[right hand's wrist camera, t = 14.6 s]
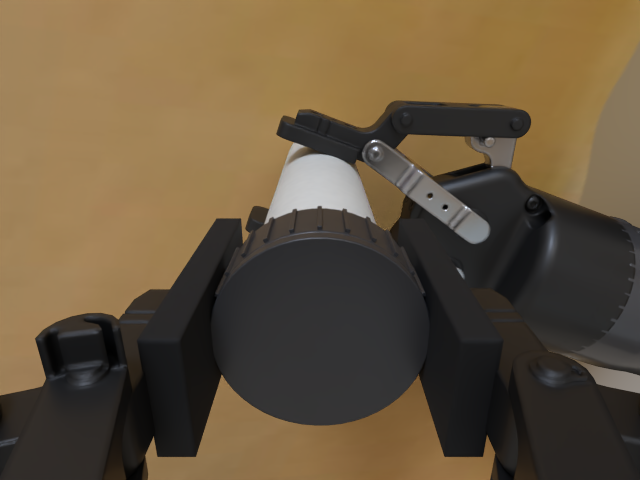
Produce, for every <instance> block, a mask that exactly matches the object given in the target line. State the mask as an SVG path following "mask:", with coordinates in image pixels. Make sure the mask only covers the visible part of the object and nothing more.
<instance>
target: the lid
mask: <svg viewBox="0 0 640 480" xmlns="http://www.w3.org/2000/svg"><path fill="white" fill-rule="evenodd" d="M425 296H426V293H425V291H424V289H423V287H422V284H421V282H420V280H419V278H418V276H417V273H416V271H415V269H414V267H413V266H412V264H411V262H410V260H409V257H408V255H407V253H406V251H405V249H404V247H403V246H402V247H399V246H398V244H397V243H396V242H395V241H394V239H393V238H392V236H391V234H390V231H388V230H386V231H384V230H383V229H381V228H380V227H379V226H377V225H376V224H374V223H373V222H371V219H370V218H369V217H367V216H366V218H363V217H361V216H358V215H356V214H353V213H350V212H347V209H344V208H343V210H336V209H327V208H322V206H318V208H312V209H305V210H299V211H297V209H293V210H292V212H291V213H287V214H285V215H282V216H280V217H277V218H275V219H274V217H271V218H270V219H269V222H268V223H266V224H264V225H263V226H262V227H260V228H259V229H258V230H256V231H254V230H252V231H251V232H250V234H249V236H248V239H247V240H246V241H245V242H244V244H243V245H242V246H241V248H239V247H237V248H236V249H235V251H234V254H233V256H232V258H231V260H230V263H229V265H228V266H227V268H226V270H225V272H224V274H223V277H222V279H221V281H220V283H219V286H218V288H217V290H216V292H215V295H214V297H216V301H215V304H214V306H213V309H212V314H211V319H210V324H211V335H212V344H213V353H214V359H215V361H216V363H217V366H218V368H219V370H220V372H221V373H222V375H223V377H224V378H225V380H226V381H227V382H228V384H229V385H230V386H231V387H232V389H233V390H234V391H235V392H236V393H237V394H238V395H240V396H241V397H242V398H243V399H244V400H245V401H247V402H248V403H249V404H251V405H252V406H254V407H255V408H257V409H259V410H261V411H262V412H264V413H266V414H269V415H271V416H273V417H276V418H279V419H282V420H285V421H288V422H293V423H298V424H305V425H335V424H343V423H347V422H352V421H356V420H359V419H362V418H365V417H367V416H370V415H372V414H374V413H376V412H378V411H380V410H382V409H383V408H385V407H387V406H388V405H390V404H391V403H392V402H394V401H395V400H396V399H398V398H399V397H400V396H401V395H402V394H403V393H404V392H405V391H406V390H407V389H408V388H409V387H410V385H411V384H412V383H413V382H414V380H415V379H416V377H417V376H418V374H419V372H420V371H421V369H422V367H423V364H424V362H425V360H426V357H427V349H428V339H429V329H430V317H429V312H428V308H427V305H426V302H425V300H424V297H425Z"/></svg>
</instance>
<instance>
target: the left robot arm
mask: <svg viewBox="0 0 640 480" xmlns="http://www.w3.org/2000/svg"><path fill="white" fill-rule="evenodd" d="M530 125H531V118H530V116H529V114H528V113H527V112H525V111H523V110H520V109H516V108H511V107H507V106H503V105H495V104H470V103H445V102H420V101H394V102H391V103H390V104H389V105H388V106H387V108H386V110H385V112H384V113H383V115H382V116H381V117H380V118H379V119H378V120H377V121H376V123H375V124H373V125H372V126H370V127H367V128H359V127H356V126H353V125H350V124H348V123H345V122H342V121H340V120H337V119H335V118H332V117H329V116H327V115H324V114H321V113H319V112H316V111H314V110H311V109H308V110H299V111H298V114H297V117H296V119H294V118H292V117H288V116H283V117H282V118H281V121H280V124H279V127H278V130H277V133H276V134H277V135H278V136H280V137H282V138H284V139H286V140H289V141H292V142H295V143H297V144H300V145H303V146H305V147H308V148H311V149H314V150H316V151H319V152H322V153H325V154H327V155H330V156H333V157H336V158H339V159H341V160H344V161H346V162H349V163H352V164H355V162H356V159H357V160H360V161H362V162H365V163H366V164H367V165H368V166H370V167H371V168H372V169H374V170H375V171H376V172H378V173H379V174H381V175H382V176H383V177H385V178H386V179H387V180H389V181H390V182H391V183H393V184H394V185H395V186H397V187H398V188H399V189H400V190H401V191H402V192H403V193H404V194H405V195H406V196H405V199H404V201H403V206H402V212H401V217H400V218H399V219H424V220H425V221H426V223H427V224H428V226H429V227H430V229H431V230H432V232H433V233H434V235H435V236H436V238H437V239H438V241H439V243H440V244H441V246H442V247H443V249H444V250H445V252H446V253H447V255H448V256H449V258H450V259H451V261H452V262H453V264H454V265H455V267H456V268H457V270H458V271H459V273H460V274H461V276H462V277H463V279H464V281H465V282H466V284H467V285H468V287H469V288H491V289H493V290H494V291H496V292H497V293H499V294H501V295H502V296H504V297H505V298H507V299H508V301H509V302H510V303H511V304H512V306H513V307H514V308H515V310H516V312H518V313H519V315H520V316H521V317H522V318H523V321H524V322H526V324H527V325H528V326H529V327H530V329H531V330H532V331H533V332H534V334H535V335H536V336H537V338H538V339H539V340H540V341H541V343H542V344H543V345H544V346H545V348H546V349H547V350H548V351H551V352H555V353H558V354H561V355H564V356H567V357H570V358H573V359H576V360H579V361H582V362H585V363H588V364H591V365H595V366H598V367H603V368H608V369H613V370H619V371H626V372H630V373H633V374H637V375H640V228H637V227H635V226H632V225H631V224H630V223H628V222H627V221H625V220H623V219H620V218H616V217H611V216H610V217H609V216H606V215H603V214H601V213H598V212H596V211H593V210H590V209H588V208H585V207H582V206H580V205H577V204H574V203H572V202H569V201H567V200H564V199H561V198H559V197H556V196H553V195H551V194H548V193H546V192H543V191H540V190H538V189H535V188H532V187H530V186H528V185H526V184H525V183H524V182H523V181H522V180H521V178H520V177H519V175H518V174H517V173H516V172H515V171H514V170H512V169H511V165H512V160H513V155H514V150H515V145H516V140H517V138H519V137H522V136H523V135H525V134H526V133H527V132H528V130H529V128H530ZM408 134H414V135H440V136H465V142H466V144H467V145H468V146H469V147H470V148H472V149H474V150H475V151H477V152H480V153H483V155H484V157H485V163H482V164H478V165H474V166H471V167H467V168H463V169H460V170H456V171H452V172H448V173H445V174H441V175H437V176H432V175H431V174H430V173H429V172H427V171H426V170H425V169H423V168H422V167H421V166H419V165H418V164H417V163H415V162H414V161H413V160H412V159H410V158H409V157H408V156H406V155H404V154H403V153H402V152H400V151H399V150H398V149H396V147H397V146H398V145H399V144H400V143H401V141H402V140H403V139H404V138H405V137H406V136H407V135H408ZM268 211H269V209H267V208H264V207H260V206H254V207H253V209H252V211H251V213H250V215H249V218H248V222H247V225H246V228H245V229H246V230H247V231H248V232H249V233H250V232H251V231H252V230H254V231H256V230H258V229H259V228H260V227H262V226H263V225H264V223H265V220H266V217H267V214H268ZM399 219H398V221H397V222H396V223H395V224H394V225H393V227H392V228H391V230H390V234H391V236H392V238H393V239H394V241H395V242H396V243H397V244H398V232H399Z"/></svg>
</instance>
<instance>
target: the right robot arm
mask: <svg viewBox="0 0 640 480" xmlns="http://www.w3.org/2000/svg"><path fill="white" fill-rule="evenodd" d="M242 245H243V240H242V226H241V219H216V220H215V222H214V223H213V225H212V227H211V228H210V230H209V231H208V233H207V234H206V236H205V237H204V239H203V240H202V242H201V243H200V245H199V246H198V248H197V249H196V251H195V252H194V254H193V255H192V257H191V258H190V260H189V262H188V263H187V265H186V266H185V268H184V269H183V271H182V272H181V274H180V275H179V277H178V278H177V280H176V281H175V283H174V284H173V286H172V287H171V289H170V290H149V291H147V292H146V293H144V294H142V295H141V296H139V297H138V298H136V299H134V301H133V302H132V303H131V304H130V306H129V307H128V308H127V310H126V311H125V314H123V315H122V316H121V317H120V319H119V320H118V319H116V318H115V317H114V316H113V315H108V314H104V313H87V314H82V315H77V316H72V317H69V318H66V319H63V320H61V321H58V322H56V323H54V324H52V325H51V326H49V327H47V328H46V329H44V330H43V331H42V332H41V333H40V334H39V335H38V336H37V337H36V338H35V339H36V343H37V347H38V350H39V354H40V358H41V361H42V365H43V368H44V372H45V376H46V381H45V383H44V385H43V386H42V387H39V388H35V389H30V390H25V391H21V392H16V393H11V394H6V395H1V396H0V480H148V469H147V463H146V458H145V454H146V452H147V450H148V448H149V445H150V443H151V441H152V439H153V436H154V440H155V445H156V451H157V456H158V457H196V455H197V451H198V448H199V445H200V442H201V439H202V435H203V432H204V429H205V426H206V423H207V420H208V416H209V413H210V410H211V407H212V404H213V400H214V397H215V394H216V391H217V388H218V384H219V381H220V378H221V375H222V373H221V372H220V370H219V368H218V366H217V363H216V361H215V359H214V353H213V344H212V335H211V324H210V319H211V314H212V309H213V306H214V304H215V301H216V297H214V295H215V292H216V290H217V288H218V286H219V283H220V281H221V279H222V277H223V274H224V272H225V270H226V268H227V266H228V265H229V263H230V260H231V258H232V256H233V254H234V251H235V249H236V248H237V247H239V248H241V246H242ZM398 246H399V247H402V246H403V247H404V249H405V251H406V253H407V255H408V257H409V260H410V262H411V264H412V266H413V267H414V269H415V271H416V273H417V276H418V278H419V280H420V282H421V284H422V287H423V289H424V291H425V293H426V296H425V297H424V300H425V302H426V305H427V308H428V312H429V317H430V329H429V339H428V349H427V357H426V360H425V362H424V364H423V367H422V369H421V371H420V372H419V377H420V380H421V383H422V386H423V389H424V393H425V396H426V399H427V402H428V405H429V409H430V412H431V415H432V418H433V421H434V424H435V428H436V431H437V434H438V437H439V440H440V444H441V447H442V450H443V453H444V456H445V457H483V453H484V448H485V442H486V437H487V435H488V437H489V440H490V442H491V444H492V446H493V449H494V451H495V458H494V463H493V468H492V473H491V479H490V480H640V393H635V392H630V391H625V390H620V389H615V388H610V387H606V386H602V385H598V384H596V382H595V380H594V378H593V377H592V375H591V374H590V373H589V372H588V370H587V369H586V368H584V367H583V366H582V365H580V364H579V363H577V362H576V361H575V360H572V359H570V358H568V357H565V356H563V355H561V354H557V353H553V352H549V351H548V350H547V349H546V348H545V346H544V345H543V344H542V343H541V341H540V340H539V339H538V338H537V336H536V335H535V334H534V332H533V331H532V330H531V329H530V327H529V326H528V325H527V324H526V322H524V321H523V318H522V317H521V316H520V315H519V313H518V312H516V310H515V308H514V307H513V306H512V304H511V303H510V302H509V301H508V299H507V298H505V297H504V296H502V295H501V294H499V293H497V292H496V291H494V290H493V289H491V288H469V287H468V285H467V284H466V282H465V281H464V279H463V277H462V276H461V274H460V273H459V271H458V270H457V268H456V267H455V265H454V264H453V262H452V261H451V259H450V258H449V256H448V255H447V253H446V252H445V250H444V249H443V247H442V246H441V244H440V243H439V241H438V239H437V238H436V236H435V235H434V233H433V232H432V230H431V229H430V227H429V226H428V224H427V223H426V221H425V220H424V219H399V232H398Z"/></svg>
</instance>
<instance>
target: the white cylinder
mask: <svg viewBox="0 0 640 480" xmlns="http://www.w3.org/2000/svg"><path fill="white" fill-rule="evenodd" d="M318 206H322V208H327V209H336V210H343V208H344V209H347V212H350V213H353V214H356V215H358V216H361V217H363V218H366V216H367V217H369V218H370V219H371V222H373V223H374V224H376V222H375V219H374V216H373V213H372V210H371V207H370V205H369V202H368V199H367V196H366V193H365V190H364V187H363V184H362V181H361V179H360V176H359V173H358V170H357V167H356V164H352V163H349V162H346V161H344V160H341V159H339V158H336V157H333V156H330V155H327V154H325V153H322V152H319V151H316V150H314V149H311V148H308V147H305V146H303V145H300V144H297V143H295V142H294V143H293V145H292V146H291V148H290V150H289V153H288V156H287V159H286V162H285V165H284V168H283V171H282V174H281V177H280V179H279V182H278V185H277V188H276V191H275V194H274V197H273V200H272V203H271V206H270V209H269V211H268V214H267V217H266V220H265V223H264V224H266V223H268V222H269V219H270V218H271V217H274V219H275V218H277V217H280V216H282V215H285V214H287V213H291V212H292V210H293V209H297V211H299V210H305V209H312V208H318Z"/></svg>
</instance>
